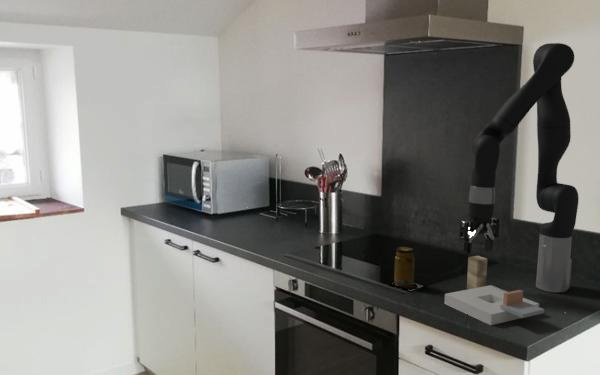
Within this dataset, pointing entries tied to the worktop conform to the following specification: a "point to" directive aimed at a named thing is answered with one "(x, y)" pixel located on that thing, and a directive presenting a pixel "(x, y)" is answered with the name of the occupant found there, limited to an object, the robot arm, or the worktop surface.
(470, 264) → the peg
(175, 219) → the worktop surface
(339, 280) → the worktop surface
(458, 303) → the socket plate
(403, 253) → the condiment
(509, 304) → the brown block on tile
